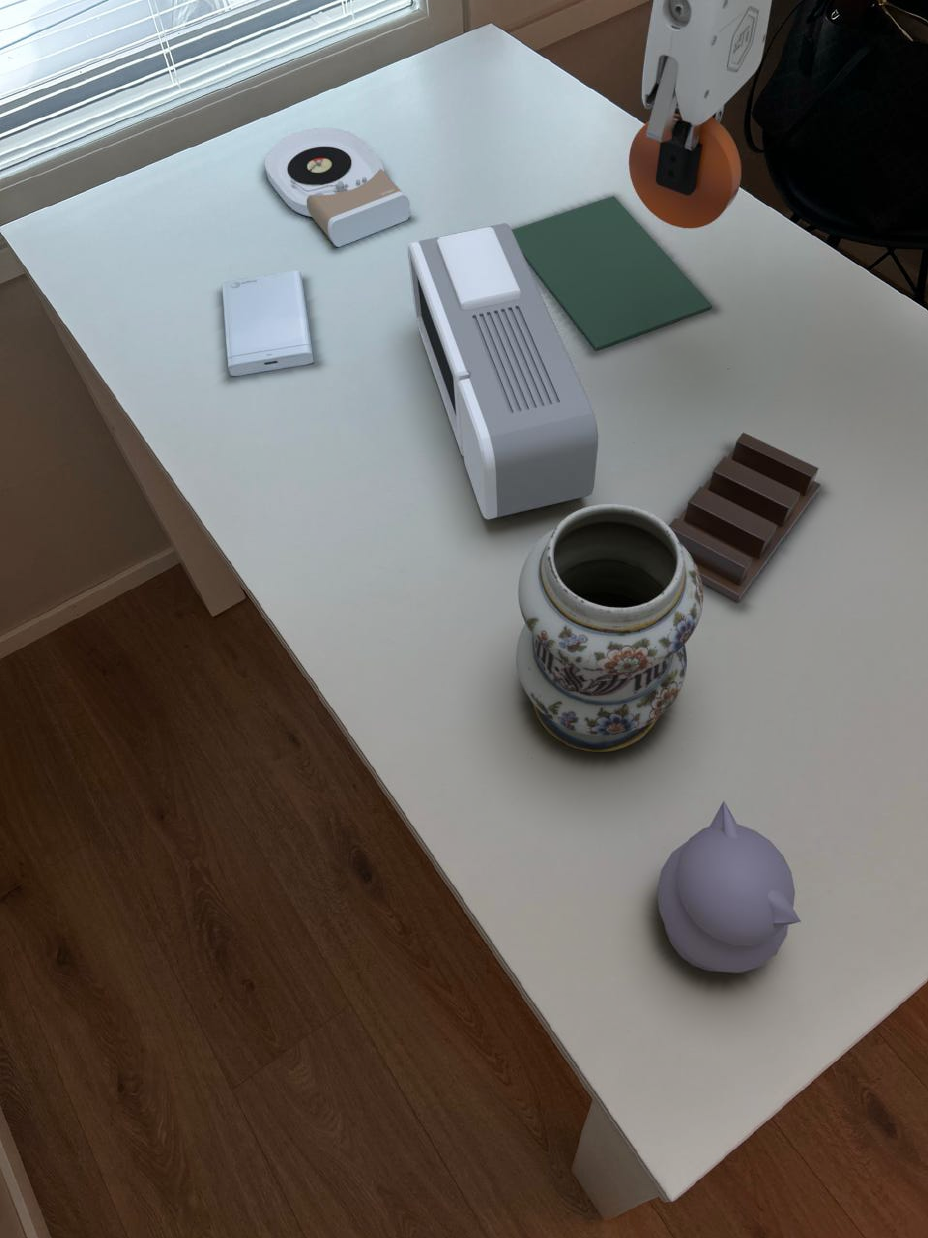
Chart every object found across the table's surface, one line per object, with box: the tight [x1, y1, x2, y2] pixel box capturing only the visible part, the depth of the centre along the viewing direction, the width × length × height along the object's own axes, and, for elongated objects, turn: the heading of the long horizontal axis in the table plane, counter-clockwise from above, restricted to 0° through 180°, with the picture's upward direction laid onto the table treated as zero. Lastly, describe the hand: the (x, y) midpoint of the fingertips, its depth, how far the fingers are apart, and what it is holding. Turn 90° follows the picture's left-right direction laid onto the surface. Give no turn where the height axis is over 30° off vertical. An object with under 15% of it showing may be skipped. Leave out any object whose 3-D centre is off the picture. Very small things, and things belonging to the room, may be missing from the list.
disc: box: [628, 114, 742, 229], centre depth 75 cm, size 2×9×9 cm, turn 53°
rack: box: [668, 432, 821, 603], centre depth 80 cm, size 14×8×4 cm, turn 143°
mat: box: [512, 195, 713, 351], centre depth 99 cm, size 20×13×1 cm, turn 24°
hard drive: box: [221, 270, 314, 377], centre depth 97 cm, size 2×8×12 cm
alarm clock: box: [407, 222, 599, 520], centre depth 85 cm, size 27×9×12 cm, turn 14°
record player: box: [264, 127, 411, 248], centre depth 108 cm, size 12×3×20 cm
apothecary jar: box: [515, 503, 704, 753], centre depth 66 cm, size 12×12×18 cm
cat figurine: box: [657, 800, 802, 974], centre depth 59 cm, size 8×8×12 cm
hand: (682, 179), depth 76 cm, fingers closed on disc, 1 cm apart
